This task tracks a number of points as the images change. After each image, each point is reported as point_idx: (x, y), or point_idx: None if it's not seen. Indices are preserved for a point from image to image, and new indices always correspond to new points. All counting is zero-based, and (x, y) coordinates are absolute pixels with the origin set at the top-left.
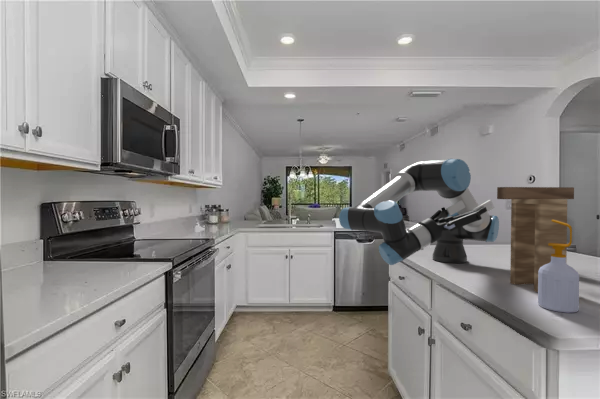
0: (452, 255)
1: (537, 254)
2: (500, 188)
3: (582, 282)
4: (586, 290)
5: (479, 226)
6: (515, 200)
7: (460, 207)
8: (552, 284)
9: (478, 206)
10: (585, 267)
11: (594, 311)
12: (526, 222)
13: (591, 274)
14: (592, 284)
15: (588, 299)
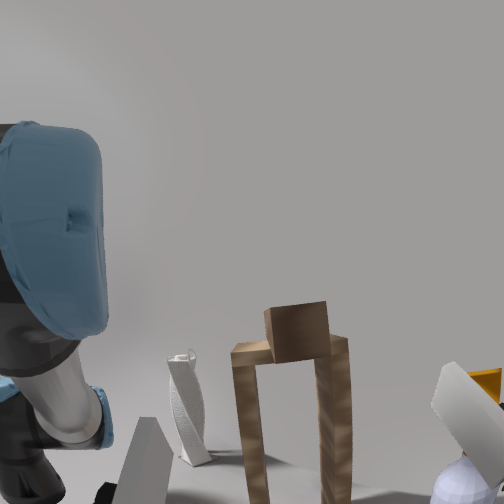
0: (40, 492)
1: (344, 479)
2: (291, 311)
3: (273, 467)
4: None
5: (86, 428)
6: (249, 356)
7: (162, 472)
8: (494, 498)
9: (502, 420)
10: None
11: None
12: (258, 412)
13: (233, 442)
14: (287, 464)
15: (381, 493)
